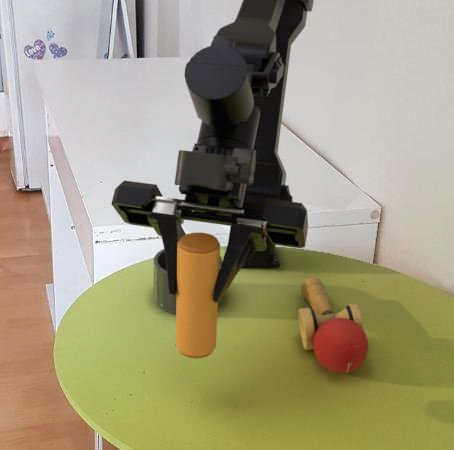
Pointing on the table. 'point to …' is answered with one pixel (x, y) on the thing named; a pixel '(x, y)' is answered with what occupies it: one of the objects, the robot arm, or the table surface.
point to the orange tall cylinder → (197, 294)
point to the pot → (164, 284)
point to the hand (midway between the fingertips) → (193, 298)
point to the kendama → (332, 330)
